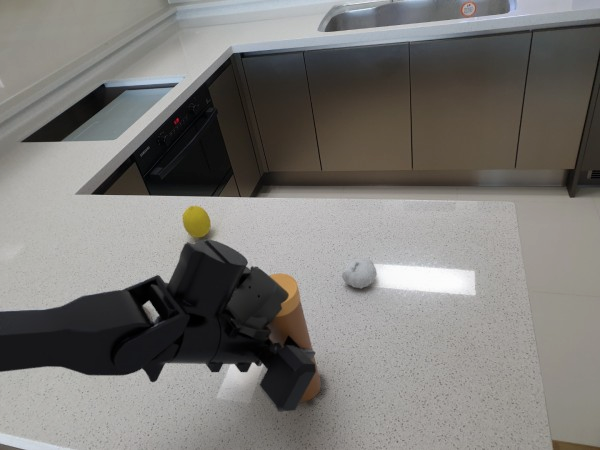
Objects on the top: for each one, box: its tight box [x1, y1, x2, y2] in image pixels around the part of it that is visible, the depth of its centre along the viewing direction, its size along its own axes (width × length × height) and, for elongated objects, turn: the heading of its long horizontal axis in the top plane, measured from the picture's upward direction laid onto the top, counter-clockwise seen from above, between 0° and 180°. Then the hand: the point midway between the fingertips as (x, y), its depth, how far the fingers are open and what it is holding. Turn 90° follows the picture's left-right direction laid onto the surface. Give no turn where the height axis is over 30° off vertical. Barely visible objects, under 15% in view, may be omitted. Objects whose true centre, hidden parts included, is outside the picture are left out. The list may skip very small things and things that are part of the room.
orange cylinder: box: [266, 273, 322, 403], centre depth 60 cm, size 5×5×20 cm
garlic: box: [341, 257, 378, 289], centre depth 79 cm, size 6×5×5 cm
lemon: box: [182, 205, 212, 238], centre depth 97 cm, size 6×6×8 cm
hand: (301, 343), depth 61 cm, fingers closed on orange cylinder, 5 cm apart
